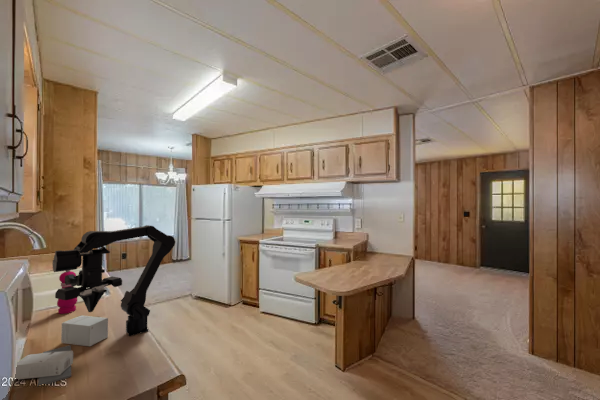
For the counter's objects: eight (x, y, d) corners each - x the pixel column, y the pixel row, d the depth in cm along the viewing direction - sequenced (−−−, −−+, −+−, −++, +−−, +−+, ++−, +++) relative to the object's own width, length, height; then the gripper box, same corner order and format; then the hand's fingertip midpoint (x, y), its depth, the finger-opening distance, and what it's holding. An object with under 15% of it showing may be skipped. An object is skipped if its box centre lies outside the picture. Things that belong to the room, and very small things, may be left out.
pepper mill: (61, 309, 128) (62, 267, 129) (80, 307, 131) (80, 266, 131) (53, 315, 122) (54, 270, 122) (72, 313, 124) (73, 269, 124)
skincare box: (61, 360, 78) (10, 364, 75) (60, 376, 78) (10, 381, 75) (74, 349, 84) (28, 353, 81) (73, 364, 84) (27, 368, 81)
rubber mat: (70, 346, 95) (70, 344, 95) (71, 376, 78) (71, 374, 78) (43, 353, 90) (43, 351, 90) (37, 387, 74) (37, 385, 74)
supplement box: (60, 343, 97) (89, 347, 94) (61, 322, 97) (89, 325, 94) (81, 334, 104) (108, 337, 101) (81, 314, 104) (108, 317, 102)
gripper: (104, 260, 107) (102, 300, 106) (45, 270, 89) (43, 318, 89) (124, 263, 103) (122, 304, 103) (67, 274, 85) (65, 324, 85)
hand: (90, 311), depth 95 cm, fingers closed
